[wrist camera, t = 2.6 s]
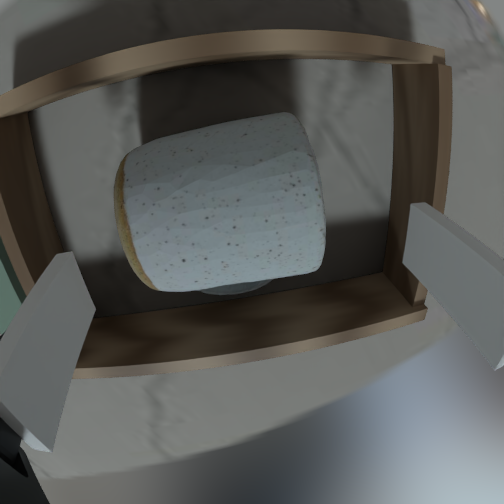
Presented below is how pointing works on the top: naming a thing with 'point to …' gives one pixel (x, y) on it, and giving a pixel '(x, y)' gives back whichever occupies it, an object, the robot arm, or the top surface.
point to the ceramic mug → (222, 206)
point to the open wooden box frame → (256, 307)
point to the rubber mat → (8, 290)
